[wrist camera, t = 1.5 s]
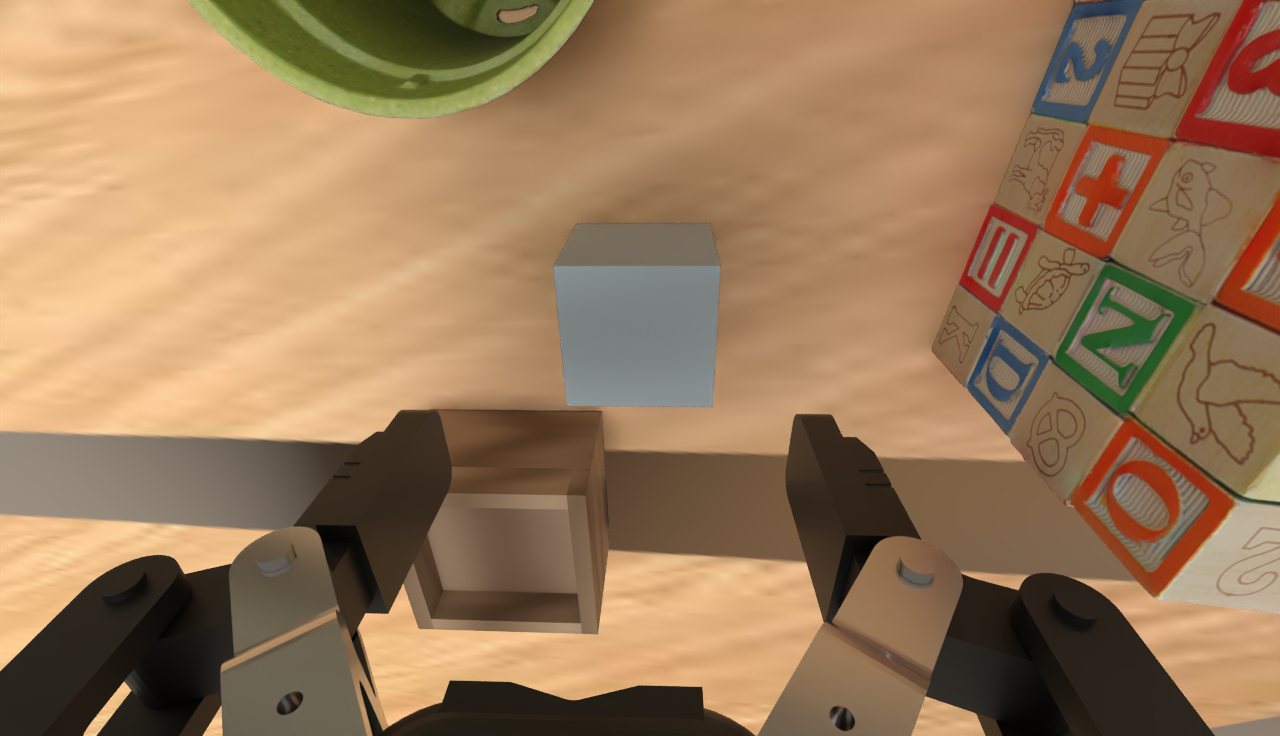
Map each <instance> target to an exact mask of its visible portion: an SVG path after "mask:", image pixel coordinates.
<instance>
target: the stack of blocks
mask: <svg viewBox="0 0 1280 736" xmlns="http://www.w3.org/2000/svg"><path fill="white" fill-rule="evenodd" d="M932 351H933V353H934V354H935V355H936V357H937V358H938V359H939V360H940V361H941V362H942V363H943V364H944V365H945V366H946V367H947V368H948V370H949V371H950V373H951V374H953V376H954V377H955V378H956V379H957V380H958V381H959V383H960V384H962V385H963V387H965V388H967V389H968V390H969V392H970V393H971V394H972V396H973V397H974V398H975V399H976V400H977V402H978V403H979V404H980V405H981V406H982V407H983V408H984V409H985V410H986V412H987V413H988V414H989V415H990V416H991V417H992V418H993V420H994V421H995V422H996V423H997V425H998V426H999V427H1000V428H1001V429H1002V431H1003V432H1004V433H1005V434H1006V435H1007V436H1008V437H1009V438H1010V440H1011V443H1012V445H1013V446H1014V447H1015V448H1016V449H1017V450H1018V451H1019V453H1020V454H1021V455H1022V457H1023V458H1024V460H1025V461H1026V462H1028V463H1029V464H1030V465H1031V467H1032V468H1033V469H1034V471H1035V472H1036V473H1037V474H1038V475H1039V476H1040V477H1041V478H1042V479H1043V480H1044V481H1045V483H1046V484H1047V485H1048V487H1049V488H1050V489H1051V490H1052V491H1053V492H1054V493H1055V494H1056V495H1057V496H1058V498H1059V499H1060V500H1061V501H1062V502H1063V503H1064V504H1065V505H1066V506H1067V507H1073V508H1075V509H1076V511H1077V512H1078V513H1079V514H1080V516H1082V518H1083V519H1084V520H1085V521H1086V523H1087V524H1088V525H1089V526H1090V527H1091V528H1092V529H1093V531H1094V532H1095V533H1096V534H1097V535H1098V536H1099V537H1100V538H1101V540H1102V541H1103V542H1104V543H1105V544H1106V545H1107V547H1108V548H1109V549H1110V550H1111V551H1112V552H1113V554H1115V556H1116V557H1117V558H1118V559H1119V560H1120V561H1121V563H1122V564H1123V565H1124V566H1125V567H1126V568H1127V570H1128V571H1129V572H1130V573H1131V574H1132V575H1133V576H1134V577H1135V579H1136V580H1137V581H1138V582H1139V583H1140V584H1141V585H1142V586H1143V588H1144V589H1145V590H1146V591H1147V592H1148V593H1149V594H1150V595H1151V596H1152V597H1154V598H1156V599H1158V600H1160V601H1168V602H1179V603H1189V604H1199V605H1209V606H1219V607H1229V608H1238V609H1246V610H1254V611H1261V612H1269V613H1280V0H1075V6H1074V8H1073V9H1072V11H1071V13H1070V15H1069V18H1068V20H1067V22H1066V25H1065V27H1064V30H1063V32H1062V35H1061V38H1060V40H1059V43H1058V45H1057V48H1056V50H1055V52H1054V55H1053V57H1052V60H1051V62H1050V65H1049V67H1048V70H1047V72H1046V75H1045V77H1044V79H1043V82H1042V84H1041V87H1040V90H1039V92H1038V94H1037V97H1036V99H1035V101H1034V103H1033V108H1032V114H1031V115H1030V117H1029V119H1028V120H1027V123H1026V125H1025V128H1024V130H1023V132H1022V135H1021V137H1020V140H1019V143H1018V145H1017V148H1016V150H1015V153H1014V155H1013V157H1012V160H1011V162H1010V165H1009V167H1008V170H1007V172H1006V175H1005V177H1004V179H1003V182H1002V184H1001V187H1000V189H999V192H998V194H997V197H996V200H995V202H994V204H992V205H991V207H990V209H989V211H988V214H987V216H986V218H985V221H984V223H983V225H982V228H981V230H980V233H979V236H978V238H977V241H976V243H975V245H974V248H973V250H972V253H971V255H970V258H969V260H968V262H967V265H966V267H965V270H964V272H963V275H962V277H961V280H960V283H959V285H958V287H957V289H956V290H955V293H954V295H953V298H952V300H951V303H950V305H949V307H948V310H947V312H946V315H945V317H944V320H943V322H942V324H941V327H940V329H939V332H938V334H937V337H936V339H935V342H934V344H933V347H932Z"/></svg>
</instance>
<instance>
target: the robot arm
mask: <svg viewBox="0 0 1280 736" xmlns="http://www.w3.org/2000/svg"><path fill="white" fill-rule="evenodd" d="M451 478H452V465H451V460H450V456H449V451H448V447H447V443H446V438H445V434H444V430H443V425H442V421H441V417H440V415H439V413H438V412H437V411H436V410H401V411H400V412H398V414H397V415H396V416H395V418H394V419H393V420H392V422H391V423H390V424H389V426H388V427H387V428H386V430H385V431H384V432H376V433H374V434H373V435H371V436H370V437H368V438H367V439H366V440H364V441H363V442H361V443H360V444H358V445H357V446H356V447H355V448H354V450H353V451H352V452H351V454H350V455H349V456H348V457H347V459H346V460H345V461H344V465H342V466H340V467H339V469H338V470H337V471H336V473H335V474H334V475H333V479H330V480H329V482H328V483H327V484H326V485H325V487H324V488H323V489H322V491H321V492H320V493H319V494H318V496H317V497H316V498H315V499H314V501H313V502H312V503H311V504H310V506H309V507H308V508H307V510H306V511H305V512H304V513H303V515H302V516H301V517H300V518H299V520H298V521H297V522H296V523H295V525H294V526H293V527H288V528H283V529H280V530H276V531H273V532H271V533H269V534H266V535H264V536H262V537H260V538H259V539H257V540H255V541H254V542H252V543H251V544H249V545H248V546H247V547H246V548H244V549H243V550H242V551H241V552H240V553H239V554H238V556H237V557H236V558H235V559H234V561H233V563H232V564H228V565H224V566H219V567H215V568H210V569H206V570H201V571H197V572H193V573H188V574H184V572H183V571H182V569H181V567H180V566H179V564H178V563H177V561H176V560H175V559H174V558H172V557H170V556H165V555H152V556H146V557H141V558H138V559H135V560H132V561H129V562H126V563H124V564H122V565H119V566H117V567H115V568H113V569H111V570H110V571H108V572H106V573H104V574H103V575H101V576H100V577H98V578H97V579H96V580H94V581H93V582H92V583H90V584H89V585H88V586H87V587H86V588H85V589H84V590H82V591H81V592H80V593H79V594H78V595H77V596H76V597H75V598H74V599H73V600H72V601H71V602H70V603H69V604H68V605H67V606H66V607H65V608H64V609H63V610H62V611H61V612H60V613H59V614H58V615H57V616H56V617H55V618H54V619H53V620H52V621H51V622H50V623H49V624H48V625H47V626H46V627H45V628H44V629H43V630H42V631H41V632H40V633H39V634H38V635H37V636H36V637H35V638H34V639H33V640H32V641H31V642H30V643H29V644H28V645H27V646H26V647H25V648H24V649H23V650H22V651H21V652H20V653H19V654H18V655H16V656H15V657H14V658H13V659H12V660H11V661H10V662H9V663H8V664H7V665H6V666H5V667H4V668H3V669H2V670H1V671H0V736H83V734H84V732H85V731H86V729H87V727H88V726H89V725H90V723H91V722H92V721H93V719H94V718H95V717H96V716H97V714H98V713H99V712H100V711H101V709H102V708H103V707H104V706H105V704H106V703H107V702H108V701H109V699H110V698H111V697H112V696H113V694H114V693H115V692H116V691H117V689H118V688H119V687H120V686H121V684H122V683H123V682H124V681H125V683H126V684H127V685H128V686H129V688H130V689H131V690H132V691H131V692H130V693H129V695H128V696H127V697H126V699H125V700H124V701H123V702H122V704H121V705H120V706H119V708H118V709H117V710H116V711H115V713H114V714H113V715H112V717H111V718H110V719H109V720H108V722H107V723H106V724H105V726H104V727H103V728H102V729H101V731H100V732H99V733H98V735H97V736H202V735H203V734H204V732H205V731H206V729H207V727H208V726H209V724H210V723H211V721H212V719H213V718H214V716H215V715H216V713H217V711H218V710H219V708H220V706H221V705H222V728H223V736H755V735H754V734H753V733H751V732H750V731H749V730H748V729H746V728H745V727H743V726H742V725H740V724H738V723H737V722H735V721H733V720H732V719H730V718H728V717H726V716H723V715H721V714H719V713H717V712H714V711H711V710H708V709H705V708H704V707H703V691H702V687H679V686H640V685H639V686H635V687H631V688H627V689H623V690H618V691H614V692H610V693H606V694H602V695H597V696H593V697H589V698H585V699H581V700H567V699H563V698H560V697H557V696H554V695H550V694H547V693H544V692H541V691H538V690H535V689H531V688H528V687H525V686H522V685H519V684H515V683H512V682H486V681H450V682H449V685H448V687H447V690H446V693H445V696H444V699H443V702H442V703H438V704H435V705H432V706H429V707H426V708H424V709H421V710H418V711H416V712H414V713H412V714H410V715H408V716H406V717H404V718H402V719H401V720H399V721H397V722H396V723H394V724H392V725H391V726H389V727H388V724H387V722H386V719H385V716H384V713H383V709H382V706H381V703H380V699H379V696H378V692H377V689H376V685H375V682H374V679H373V675H372V672H371V668H370V665H369V661H368V658H367V654H366V651H365V647H364V644H363V641H362V637H361V634H360V632H359V629H358V626H359V624H360V622H361V620H362V619H363V617H364V615H365V613H381V614H388V613H389V611H390V609H391V607H392V605H393V603H394V601H395V599H396V597H397V595H398V593H399V591H400V589H401V587H402V585H403V582H404V580H405V578H406V576H407V574H408V572H409V570H410V568H411V566H412V564H413V562H414V560H415V558H416V556H417V554H418V552H419V550H420V548H421V546H422V544H423V542H424V540H425V538H426V536H427V534H428V532H429V530H430V527H431V525H432V523H433V521H434V519H435V517H436V515H437V513H438V511H439V509H440V507H441V505H442V503H443V501H444V499H445V497H446V495H447V493H448V491H449V488H450V484H451ZM786 490H787V496H788V500H789V503H790V506H791V510H792V513H793V517H794V520H795V523H796V527H797V531H798V534H799V538H800V541H801V544H802V548H803V552H804V555H805V558H806V562H807V566H808V569H809V572H810V576H811V579H812V583H813V586H814V590H815V593H816V597H817V600H818V604H819V607H820V611H821V614H822V618H823V621H824V623H823V624H822V626H821V627H820V629H819V631H818V632H817V634H816V636H815V637H814V639H813V641H812V643H811V644H810V646H809V648H808V649H807V651H806V653H805V655H804V656H803V658H802V660H801V661H800V663H799V665H798V667H797V668H796V670H795V672H794V673H793V675H792V677H791V679H790V680H789V682H788V684H787V685H786V687H785V689H784V691H783V692H782V694H781V696H780V698H779V699H778V701H777V703H776V704H775V706H774V708H773V710H772V711H771V713H770V715H769V716H768V718H767V720H766V722H765V723H764V725H763V727H762V728H761V730H760V732H759V734H758V735H757V736H911V735H912V732H913V729H914V726H915V724H916V721H917V718H918V715H919V712H920V710H921V707H922V704H923V701H924V698H925V696H927V697H930V698H933V699H936V700H939V701H941V702H944V703H947V704H950V705H953V706H956V707H959V708H962V709H965V710H968V711H971V712H974V713H976V714H977V716H978V719H979V721H980V723H981V726H982V728H983V731H984V733H985V735H986V736H1215V735H1214V734H1213V733H1212V731H1211V730H1210V729H1209V727H1208V726H1207V725H1206V723H1205V722H1204V721H1203V720H1202V718H1201V717H1200V716H1199V714H1198V713H1197V712H1196V710H1195V709H1194V708H1193V706H1192V705H1191V704H1190V702H1189V701H1188V700H1187V698H1186V697H1185V696H1184V695H1183V693H1182V692H1181V691H1180V689H1179V688H1178V687H1177V685H1176V684H1175V683H1174V681H1173V680H1172V679H1171V677H1170V676H1169V675H1168V673H1167V672H1166V671H1165V669H1164V668H1163V667H1162V666H1161V664H1160V663H1159V662H1158V660H1157V659H1156V658H1155V656H1154V655H1153V654H1152V652H1151V651H1150V650H1149V648H1148V647H1147V646H1146V644H1145V643H1144V642H1143V640H1142V639H1141V638H1140V637H1139V635H1138V634H1137V633H1136V631H1135V630H1134V629H1133V627H1132V626H1131V625H1130V623H1129V622H1128V621H1127V619H1126V618H1125V617H1124V615H1123V614H1122V613H1121V612H1120V611H1119V609H1118V608H1117V607H1116V606H1115V605H1114V604H1113V603H1112V602H1111V601H1110V600H1109V599H1107V598H1106V597H1105V596H1103V595H1102V594H1101V593H1099V592H1098V591H1096V590H1095V589H1093V588H1091V587H1090V586H1088V585H1086V584H1084V583H1082V582H1080V581H1077V580H1075V579H1072V578H1069V577H1066V576H1063V575H1058V574H1052V573H1038V574H1034V575H1031V576H1029V577H1027V578H1026V579H1025V580H1024V581H1023V583H1022V584H1021V586H1020V588H1019V590H1015V589H1011V588H1007V587H1004V586H1000V585H996V584H992V583H989V582H985V581H981V580H977V579H974V578H971V577H968V576H966V575H963V574H961V572H960V570H959V568H958V567H957V565H956V564H955V563H954V561H953V560H952V559H951V558H950V557H949V556H948V555H946V554H945V553H944V552H943V551H942V550H940V549H938V548H937V547H935V546H934V545H931V544H929V543H927V542H925V541H922V540H921V538H920V536H919V534H918V532H917V531H916V529H915V527H914V525H913V523H912V521H911V520H910V518H909V516H908V514H907V512H906V510H905V508H904V507H903V505H902V503H901V501H900V499H899V498H898V496H897V494H896V492H895V490H894V488H892V487H891V482H890V481H889V479H888V477H887V475H886V474H885V473H884V470H883V468H882V466H881V464H880V462H879V460H878V458H877V457H876V455H875V453H874V452H873V451H872V450H871V449H870V448H868V447H867V446H866V445H865V444H864V443H863V442H861V441H860V440H859V439H858V438H857V437H843V436H842V434H841V432H840V430H839V428H838V426H837V424H836V422H835V420H834V418H833V416H832V415H830V414H796V415H795V417H794V421H793V426H792V433H791V439H790V446H789V453H788V460H787V466H786Z"/></svg>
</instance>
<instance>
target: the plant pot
mask: <svg viewBox="0 0 1280 736" xmlns="http://www.w3.org/2000/svg"><path fill="white" fill-rule="evenodd" d="M187 1H188V2H189V3H190V4H191V5H192V6H193V7H194V8H195V9H196V10H197V11H198V13H199V14H200V15H201V16H202V17H203V18H204V19H205V20H206V21H207V22H208V23H209V24H210V25H211V26H212V27H213V28H214V29H215V30H216V31H217V32H218V33H220V34H221V35H222V36H223V37H224V38H226V39H227V40H228V41H229V42H230V43H231V44H232V45H233V46H235V47H236V48H237V49H238V50H240V51H241V52H242V53H244V54H245V55H246V56H248V57H249V58H250V59H251V60H253V61H254V62H255V63H256V64H258V65H260V66H261V67H263V68H264V69H266V70H267V71H269V72H270V73H272V74H273V75H275V76H277V77H278V78H280V79H281V80H283V81H284V82H286V83H288V84H290V85H292V86H294V87H296V88H297V89H299V90H301V91H303V92H304V93H306V94H308V95H311V96H313V97H315V98H317V99H319V100H322V101H324V102H326V103H329V104H332V105H334V106H337V107H340V108H343V109H347V110H351V111H355V112H359V113H363V114H367V115H373V116H379V117H388V118H409V119H410V118H419V119H421V118H431V117H439V116H445V115H450V114H455V113H459V112H463V111H466V110H469V109H472V108H475V107H478V106H481V105H484V104H486V103H488V102H490V101H492V100H494V99H496V98H498V97H500V96H502V95H503V94H505V93H507V92H509V91H511V90H512V89H514V88H515V87H517V86H518V85H520V84H521V83H523V82H524V81H526V80H527V79H529V78H530V77H531V76H532V75H533V74H535V73H536V72H537V71H538V70H539V69H540V68H542V67H543V66H544V65H545V64H546V63H547V62H548V61H549V60H550V59H551V58H552V57H553V56H554V55H555V54H556V53H557V52H558V51H559V50H560V49H561V48H562V46H563V45H564V44H565V43H566V42H567V40H568V39H569V38H570V37H571V35H572V34H573V33H574V31H575V30H576V29H577V27H578V26H579V24H580V23H581V22H582V20H583V19H584V17H585V16H586V14H587V13H588V11H589V9H590V8H591V6H592V4H593V3H594V1H595V0H187ZM533 4H536V5H538V9H537V11H536V13H535V14H534V15H533V16H531V17H529V18H527V19H526V20H524V21H520V22H517V23H508V24H506V23H504V22H501V21H499V20H498V18H497V14H496V13H497V12H498V11H499V10H514V9H520V8H524V7H527V6H529V7H530V6H532V5H533Z"/></svg>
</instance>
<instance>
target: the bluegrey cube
mask: <svg viewBox="0 0 1280 736" xmlns="http://www.w3.org/2000/svg"><path fill="white" fill-rule="evenodd" d="M720 267H721V265H720V262H719V258H718V254H717V250H716V246H715V242H714V238H713V235H712V231H711V227H710V223H616V224H576V226H575V228H574V230H573V231H572V233H571V235H570V237H569V239H568V240H567V242H566V244H565V246H564V248H563V249H562V251H561V253H560V255H559V256H558V258H557V260H556V262H555V264H554V265H553V270H554V280H555V290H556V300H557V311H558V321H559V331H560V342H561V352H562V362H563V372H564V383H565V393H566V403H567V406H638V407H713V389H714V372H715V354H716V337H717V319H718V302H719V285H720Z"/></svg>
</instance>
